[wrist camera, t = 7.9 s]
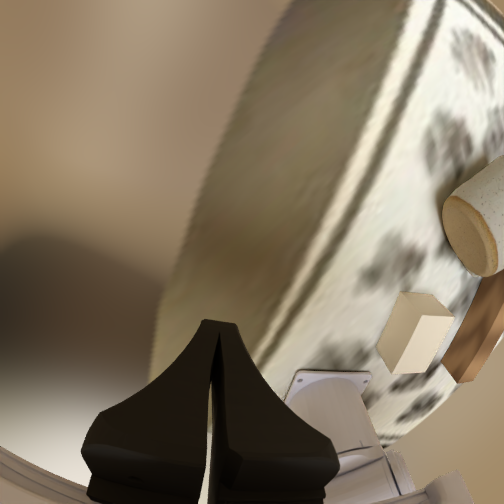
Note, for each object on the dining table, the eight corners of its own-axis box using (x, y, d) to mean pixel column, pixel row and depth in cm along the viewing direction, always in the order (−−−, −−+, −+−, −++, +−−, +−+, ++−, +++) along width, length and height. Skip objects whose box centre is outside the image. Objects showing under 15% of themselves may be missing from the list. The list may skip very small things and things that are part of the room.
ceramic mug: (425, 189, 20) (492, 218, 13) (484, 147, 18) (549, 162, 11) (452, 286, 23) (500, 330, 16) (503, 242, 22) (553, 273, 15)
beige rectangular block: (407, 346, 25) (424, 372, 22) (375, 346, 25) (391, 374, 21) (431, 294, 23) (454, 316, 20) (399, 290, 23) (422, 315, 19)
